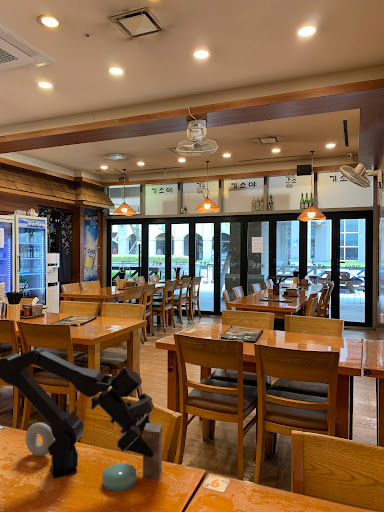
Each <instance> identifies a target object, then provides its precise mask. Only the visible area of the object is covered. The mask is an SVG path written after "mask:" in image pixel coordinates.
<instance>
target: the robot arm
mask: <svg viewBox="0 0 384 512" xmlns="http://www.w3.org/2000/svg"><path fill="white" fill-rule="evenodd" d="M32 365H34V366H37V367H39V368H41V369H43V370H45V371H47V372H49V373H51V374H53V375H55V376H57V377H59V378H62V379H63V380H65V381H68V382H69V383H70V384H72V386H73V387H74V388H75V389H76V390H77V391H78V392H79V393H81V394H82V395H83V396H85V397H88V398H91V410H94V409H95V408H96V407H97V406H98V405H99V407H100V408H101V409H102V410H103V411H104V412H105V413H106V414H107V415H108V416H109V417H110V418H111V419H110V422H111V424H114V423H115V424H116V425H118V427H119V428H121V430H120V433H121V435H119V438H118V439H117V444H116V445H117V446H116V447H117V448H118V449H119V450H120V451H121V453H122V452H124V451H125V452H131V453H136V454H139V455H141V456H143V455H145V456H148V457H152V456H153V455H154V453H153V452H152V450H151V449H150V448H149V446H148V445H147V444H146V442H145V441H144V440H143V431H144V428H145V425H146V423H151V413H152V411H153V408H154V407H155V405H154V403H153V401H152V400H153V397H151V395H148V394H146V393H145V392H143V393H140V394H139V397H138V400H136V402H133V403H132V401H130V400H127V401H125V399H124V398H128V397H130V396H131V395H132V394H133V392H135V390H137V388H139V387H140V385H142V382H143V381H142V378H141V376H140V374H139V373H137V372H136V371H134V370H133V369H132V368H128V367H127V366H126V365H125V366H123V367H122V369H120V371H119V373H117V375H116V376H115V375H109V374H104V373H103V372H102V371H100V370H96V369H94V368H93V369H92V368H88V367H81V366H78V365H76V364H74V363H72V362H69V361H67V360H65V359H63V358H61V357H59V356H58V355H56V354H54V353H51V352H49V351H47V350H46V349H44V348H43V347H36V348H34V349H32V350H28V351H26V352H23V353H15V352H14V353H10V354H9V355H6V356H4V357H2V358H0V380H1V381H3V382H4V383H5V384H7V385H10V386H13V387H16V388H17V390H18V391H19V392H20V393H21V394H22V395H23V396H24V397H25V398H26V400H27V401H28V402H29V403H30V404H31V405H32V407H33V408H34V409H35V410H36V411H37V413H39V414H40V415H41V416H42V418H43V419H44V420H45V421H46V422H47V423H48V424H49V425H48V426H49V427H50V428H51V431H52V435H53V437H54V442H53V443H52V444H51V445H50V446H49V447H48V451H49V453H48V454H49V456H51V457H50V458H51V459H50V460H51V462H50V463H51V464H50V466H49V469H50V471H51V474H52V478H59V477H63V476H66V475H71V474H75V473H78V469H77V467H78V463H79V462H78V460H79V458H78V456H79V453H78V450H77V448H76V446H75V445H76V443H77V442H78V440H79V439H80V438H81V437H82V435H83V434H84V430H85V425H84V424H83V422H82V421H83V419H82V418H80V417H79V416H78V414H77V413H76V412H75V411H74V410H72V411H70V413H69V412H66V411H64V410H63V409H62V408H61V407H60V406H59V405H58V404H57V402H55V400H54V399H53V398H52V397H51V396H50V395H49V393H48V392H46V390H45V389H44V388H43V387H42V386H41V385H40V384H39V382H38V381H37V380H36V379H35V377H33V376H32V374H31V370H30V366H32ZM109 388H110V389H109ZM99 393H100V394H99ZM97 395H98V396H97Z"/></svg>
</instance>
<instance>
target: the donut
mask: <svg viewBox="0 0 384 512" xmlns="http://www.w3.org/2000/svg"><path fill="white" fill-rule="evenodd" d="M38 436H40V437H41V439H42V443H40V442H39V440H38ZM24 440H25V445H26V447H27V449H28V451H29V452H30V453H31V454H32V455H34V456H36V457H43V456H46V455H48V454H49V451H48V447H49V446H50V445H51V444H52V443H53V442H54V440H55V438H54V437H53V435H52V431H51V428H50V425H48V424H46V423H44V422H35V423H33V424H31V426H29V427H28V429H27V431H26V433H25V439H24Z"/></svg>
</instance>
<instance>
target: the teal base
mask: <svg viewBox="0 0 384 512" xmlns="http://www.w3.org/2000/svg"><path fill="white" fill-rule="evenodd" d="M136 482H137V468H136V467H135V466H134V465H131V464H129V463H115V464H113V465H110V466H108V467H106V468H105V469H104V470H103V472H102V486H103V488H105V490H108V491H112V492H122V491H123V492H124V491H126V490H128V489H131V488H132V487H134V486H135V484H136Z"/></svg>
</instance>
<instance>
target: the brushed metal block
mask: <svg viewBox="0 0 384 512" xmlns="http://www.w3.org/2000/svg"><path fill="white" fill-rule="evenodd" d="M143 440H144V441H145V442H146V444H147V445H148V446H149V448H150V449H151V450H152V452H153V453H154V455H153V456H152V457H148V456H145V455H142V479H144V480H146V479H147V480H149V479H150V480H160V478H161V473H162V469H163V460H162V459H163V423H157V422H156V423H154V422H150V423H146V425H145V428H144V431H143Z"/></svg>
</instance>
